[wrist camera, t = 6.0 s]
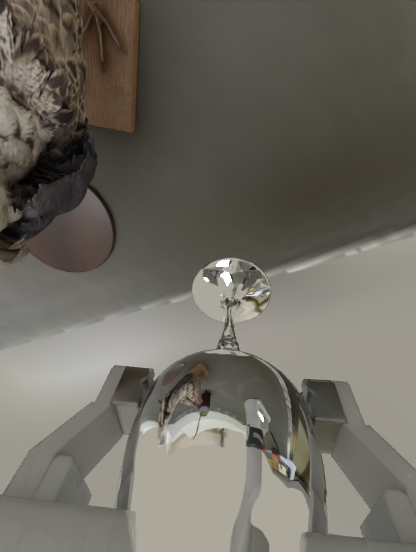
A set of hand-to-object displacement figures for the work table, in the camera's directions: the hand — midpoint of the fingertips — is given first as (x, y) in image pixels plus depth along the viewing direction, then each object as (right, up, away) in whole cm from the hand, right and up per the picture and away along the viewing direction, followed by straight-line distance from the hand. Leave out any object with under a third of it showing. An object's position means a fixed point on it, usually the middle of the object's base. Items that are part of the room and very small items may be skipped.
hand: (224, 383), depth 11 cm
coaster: (-14, +9, +16) cm, 23 cm away
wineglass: (+1, +3, +5) cm, 6 cm away
